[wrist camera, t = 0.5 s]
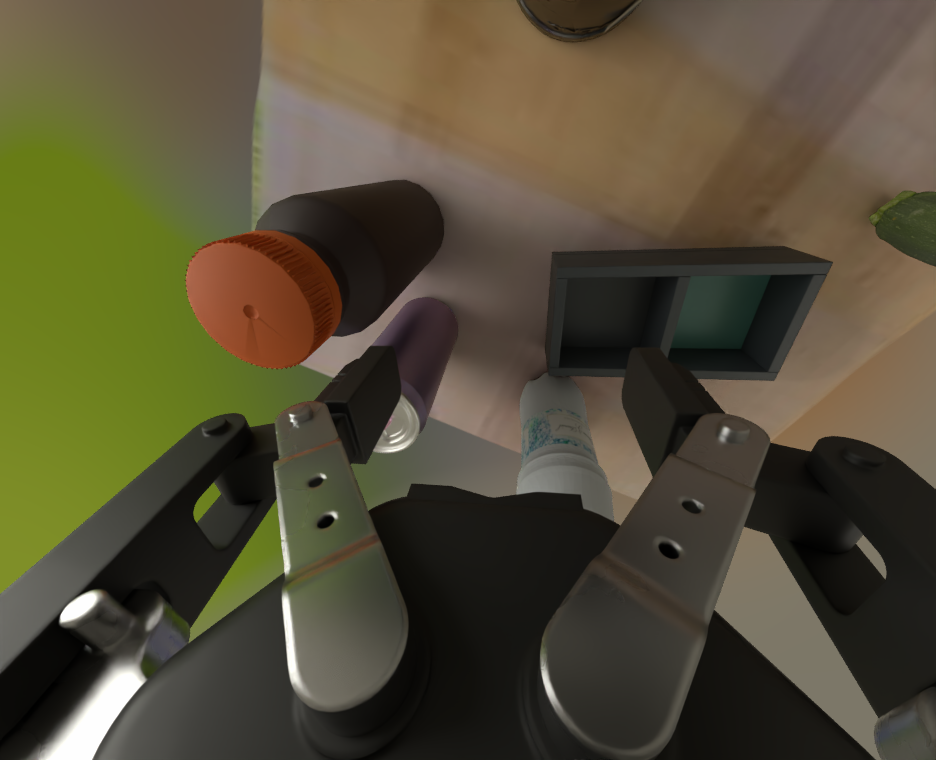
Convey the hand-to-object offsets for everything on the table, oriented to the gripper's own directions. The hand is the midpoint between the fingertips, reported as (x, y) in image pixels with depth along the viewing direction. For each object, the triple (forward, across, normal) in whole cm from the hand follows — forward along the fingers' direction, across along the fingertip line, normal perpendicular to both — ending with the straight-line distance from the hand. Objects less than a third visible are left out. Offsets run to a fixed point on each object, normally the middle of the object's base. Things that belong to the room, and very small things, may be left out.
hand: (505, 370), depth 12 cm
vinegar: (+20, +9, -2) cm, 23 cm away
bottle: (+21, -4, +14) cm, 26 cm away
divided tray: (+20, -12, +5) cm, 24 cm away
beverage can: (+21, +8, +7) cm, 23 cm away
